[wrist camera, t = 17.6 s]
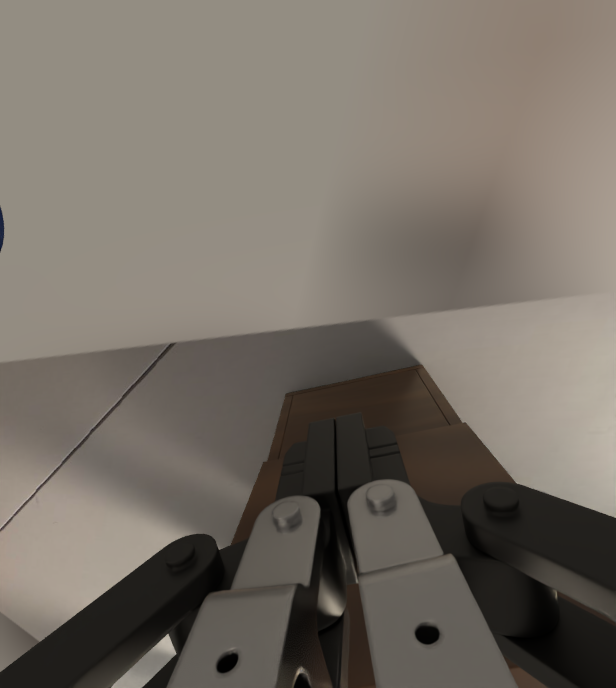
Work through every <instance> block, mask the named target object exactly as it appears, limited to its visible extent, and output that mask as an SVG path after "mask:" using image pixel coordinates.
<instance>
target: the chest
mask: <svg viewBox="0 0 616 688" xmlns="http://www.w3.org/2000/svg"><path fill="white" fill-rule="evenodd" d="M358 412H361V413H362V417H363V421H364V425H365V429H367V428H372V427H377V426H382V425H384V426H386V427H387V428H388V429H390V430H391V431H393V432H394V434H395V436H399V435H404V434H409V433H414V432H419V431H424V430H429V429H434V428H439V427H444V426H450V425H455V424H460V423H462V421H461V420H460V418H459V417H458V415H457V414H456V413H455V411H454V410H453V408H452V407H451V405H450V404H449V402H448V401H447V400H446V398H445V397H444V395H443V394H442V392H441V391H440V390H439V388H438V387H437V385H436V384H435V382H434V381H433V379H432V378H431V377H430V375H429V374H428V372H427V371H426V369H425V368H424V366H423V365H418V366H413V367H408V368H404V369H399V370H394V371H390V372H385V373H380V374H376V375H371V376H366V377H362V378H357V379H352V380H348V381H343V382H338V383H334V384H329V385H324V386H320V387H315V388H310V389H306V390H301V391H296V392H291V393H287V394H286V395H285V399H284V402H283V406H282V410H281V413H280V417H279V420H278V424H277V428H276V431H275V435H274V438H273V442H272V445H271V449H270V453H269V456H268V460H267V461H271V460H277V459H282V458H284V455H285V453H286V452H287V451H288V450H289V448H290V447H291V446H292V445H293V444H294V443H297V442H302V441H307V435H308V427H309V423H310V422H315V421H319V420H324V419H329V418H335V420H336V417H339V416H344V415H349V414H353V413H358Z"/></svg>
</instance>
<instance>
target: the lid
mask: <svg viewBox="0 0 616 688" xmlns="http://www.w3.org/2000/svg"><path fill="white" fill-rule="evenodd" d="M395 437H396V440H397V444H398V447H399V450H400V453H401V456H402V459H403V463H404V466H405V469H406V472H407V475H408V479H409V482H410V485H411V487H412V488H413V489H414V491H415V493H416V494H417V495H418V496H420V497H421V498H423V499H425V500H427V501H430V502H433V503H437V504H444V505H461V499H462V497H463V496H464V494H465V493H466V492H467V491H468V490H470V489H471V488H473V487H475V486H477V485H480V484H484V483H489V482H510V483H516V482H515V481H514V480H513V479H512V477H511V476H510V475H509V474H508V473H507V471H506V470H505V469H504V468H503V467H502V465H501V464H500V463H499V462H498V461H497V459H496V458H495V457H494V456H493V455H492V453H491V452H490V451H489V450H488V449H487V447H486V446H485V445H484V444H483V443H482V441H481V440H480V439H479V438H478V437H477V435H476V434H475V433H474V432H473V431H472V429H471V428H470V427H469V426H468V425H467V423H460V424H455V425H450V426H444V427H439V428H434V429H429V430H424V431H419V432H414V433H409V434H404V435H399V436H395ZM283 460H284V458H282V459H277V460H271V461H266V462H263V464H262V467H261V469H260V472H259V475H258V477H257V480H256V482H255V485H254V487H253V490H252V492H251V495H250V497H249V500H248V502H247V505H246V507H245V510H244V512H243V515H242V517H241V520H240V522H239V525H238V527H237V530H236V533H235V535H234V538H233V540H232V543H231V545H233V544H235V543H238V542H240V541H242V540H244V539H247V538H248V537H250V534H251V532H252V529H253V526H254V523H255V521H256V519H257V517H258V515H259V514H260V513H261V512H262V511H263V509H265V508H266V507H267V506H269V505H270V504H272V503H273V502H275V498H276V493H277V488H278V484H279V479H280V476H281V469H282V467H283ZM516 484H517V483H516ZM357 567H358V566H357ZM358 573H359V570H358ZM557 595H558V596H560V597H562V598H564V599H565V600H567V601H569V602H571V603H573V604H575V605H577V606H579V607H580V608H582V609H584V610H586V611H588V612H590V613H592V614H594V615H595V616H597V617H599V618H601V619H603V620H605V621H607V622H609V623H610V624H612V625H614V626H616V623H615V622H614V621H612V620H611V619H609V618H608V617H606V616H604V615H602V614H600V613H598V612H597V611H595V610H593V609H591V608H589V607H587V606H585V605H583V604H581V603H579V602H578V601H576V600H574V599H572V598H570V597H568V596H566V595H564V594H562V593H560V592H558V591H557ZM346 605H347V609H348V613H349V618H350V627H349V655H348V682H347V688H376V683H375V677H374V671H373V665H372V660H371V654H370V648H369V642H368V636H367V630H366V625H365V619H364V613H363V607H362V601H361V596H360V590H359V584H351V585H347V603H346ZM503 657H504V659H505V661H506V663H507V665H508V667H509V669H510V671H511V673H512V675H513V678H514V680H515V682H516V684H517V686H518V688H548V687H546V686H545V685H544V684H542V683H541V682H539V681H538V680H537V679H535V678H534V677H532V676H531V675H530V674H528V673H527V672H526V671H524V670H523V669H521V668H520V667H519V666H517V665H516V664H514V663H513V662H512V661H510V660H509V659H507V658H506V657H505V656H503Z"/></svg>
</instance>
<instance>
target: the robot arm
mask: <svg viewBox="0 0 616 688" xmlns="http://www.w3.org/2000/svg"><path fill="white" fill-rule="evenodd" d="M357 566H358V567H357ZM358 570H359V573H358ZM351 584H359V590H360V596H361V601H362V607H363V613H364V619H365V625H366V630H367V636H368V642H369V648H370V654H371V660H372V665H373V671H374V677H375V683H376V688H518V686H517V684H516V682H515V680H514V678H513V675H512V673H511V671H510V669H509V667H508V665H507V663H506V661H505V659H504V657H503V656H505V657H506V658H507V659H509V660H510V661H512V662H513V663H514V664H516V665H517V666H519V667H520V668H521V669H523V670H524V671H526V672H527V673H528V674H530V675H531V676H532V677H534V678H535V679H537V680H538V681H539V682H541V683H542V684H544V685H545V686H546V687H548V688H616V626H614V625H612V624H610V623H609V622H607V621H605V620H603V619H601V618H599V617H597V616H595V615H594V614H592V613H590V612H588V611H586V610H584V609H582V608H580V607H579V606H577V605H575V604H573V603H571V602H569V601H567V600H565V599H564V598H562V597H560V596H558V595H557V591H558V592H560V593H562V594H564V595H566V596H568V597H570V598H572V599H574V600H576V601H578V602H579V603H581V604H583V605H585V606H587V607H589V608H591V609H593V610H595V611H597V612H598V613H600V614H602V615H604V616H606V617H608V618H609V619H611V620H612V621H614V622H615V623H616V518H614V517H612V516H609V515H606V514H603V513H600V512H597V511H594V510H591V509H589V508H586V507H583V506H580V505H577V504H574V503H571V502H569V501H566V500H563V499H560V498H557V497H554V496H551V495H549V494H546V493H543V492H540V491H537V490H534V489H531V488H529V487H526V486H523V485H519V484H516V483H510V482H489V483H484V484H480V485H477V486H475V487H473V488H471V489H470V490H468V491H467V492H466V493H465V494H464V496H463V497H462V499H461V505H444V504H437V503H433V502H430V501H427V500H425V499H423V498H421V497H420V496H418V495H417V494H416V493H415V491H414V489H413V488H412V487H411V485H410V482H409V479H408V475H407V472H406V469H405V466H404V463H403V459H402V456H401V453H400V450H399V447H398V444H397V440H396V437H395V434H394V432H393V431H391V430H390V429H388V428H387V427H386V426H384V425H382V426H377V427H372V428H367V429H365V425H364V421H363V417H362V413H361V412H358V413H353V414H349V415H344V416H339V417H336V420H335V418H329V419H324V420H319V421H315V422H310V423H309V427H308V435H307V441H302V442H297V443H294V444H293V445H292V446H291V447H290V448H289V450H288V451H287V452H286V453H285V455H284V460H283V467H282V469H281V476H280V479H279V484H278V488H277V493H276V498H275V502H273V503H272V504H270V505H269V506H267V507H266V508H265V509H263V511H262V512H261V513H260V514H259V515H258V517H257V519H256V521H255V523H254V526H253V529H252V532H251V534H250V537H248V538H247V539H244V540H242V541H240V542H238V543H235V544H233V545H230V546H228V547H225V548H223V549H220V550H219V549H218V547H217V544H216V541H215V539H214V538H213V537H211V536H209V535H207V534H193V535H189V536H185V537H182V538H180V539H178V540H176V541H174V542H172V543H170V544H169V545H167V546H166V547H164V548H163V549H162V550H160V551H159V552H158V553H156V554H155V555H154V556H152V557H151V558H150V559H148V560H147V561H146V562H145V563H143V564H142V565H141V566H139V567H138V568H137V569H135V570H134V571H133V572H131V573H130V574H129V575H127V576H126V577H125V578H123V579H122V580H121V581H120V582H118V583H117V584H116V585H114V586H113V587H112V588H110V589H109V590H108V591H106V592H105V593H104V594H102V595H101V596H100V597H99V598H97V599H96V600H95V601H93V602H92V603H91V604H89V605H88V606H87V607H85V608H84V609H83V610H81V611H80V612H79V613H77V614H76V615H75V616H74V617H72V618H71V619H70V620H68V621H67V622H66V623H64V624H63V625H62V626H60V627H59V628H58V629H56V630H55V631H54V632H52V633H51V634H50V635H49V636H47V637H46V638H45V639H43V640H42V641H41V642H39V643H38V644H37V645H35V646H34V647H33V648H31V649H30V650H29V651H28V652H26V653H25V654H24V655H22V656H21V657H20V658H18V659H17V660H16V661H14V662H13V663H12V664H10V665H9V666H8V667H7V668H5V669H4V670H3V671H1V672H0V688H111V687H112V685H113V684H114V683H115V682H116V681H117V680H118V679H120V678H121V677H122V676H123V675H124V674H125V673H126V672H127V671H128V670H129V669H130V668H131V667H132V666H134V665H135V664H136V663H137V662H138V661H139V660H140V659H141V658H142V657H143V656H144V655H145V654H146V653H148V652H149V651H150V650H151V649H152V648H153V647H154V646H155V645H156V644H157V643H158V642H159V641H160V640H162V639H163V638H164V637H165V636H166V635H167V634H169V636H170V639H171V641H172V644H173V646H174V649H175V651H176V655H175V656H174V657H173V658H172V659H171V660H170V661H169V662H168V663H167V664H166V665H165V666H164V667H163V668H162V669H161V670H160V671H159V672H158V673H157V674H156V675H155V676H154V677H153V678H152V679H151V680H150V681H148V682H147V683H146V684H145V685H144V686H143V687H142V688H347V682H348V655H349V627H350V618H349V613H348V609H347V605H346V603H347V585H351Z"/></svg>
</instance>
